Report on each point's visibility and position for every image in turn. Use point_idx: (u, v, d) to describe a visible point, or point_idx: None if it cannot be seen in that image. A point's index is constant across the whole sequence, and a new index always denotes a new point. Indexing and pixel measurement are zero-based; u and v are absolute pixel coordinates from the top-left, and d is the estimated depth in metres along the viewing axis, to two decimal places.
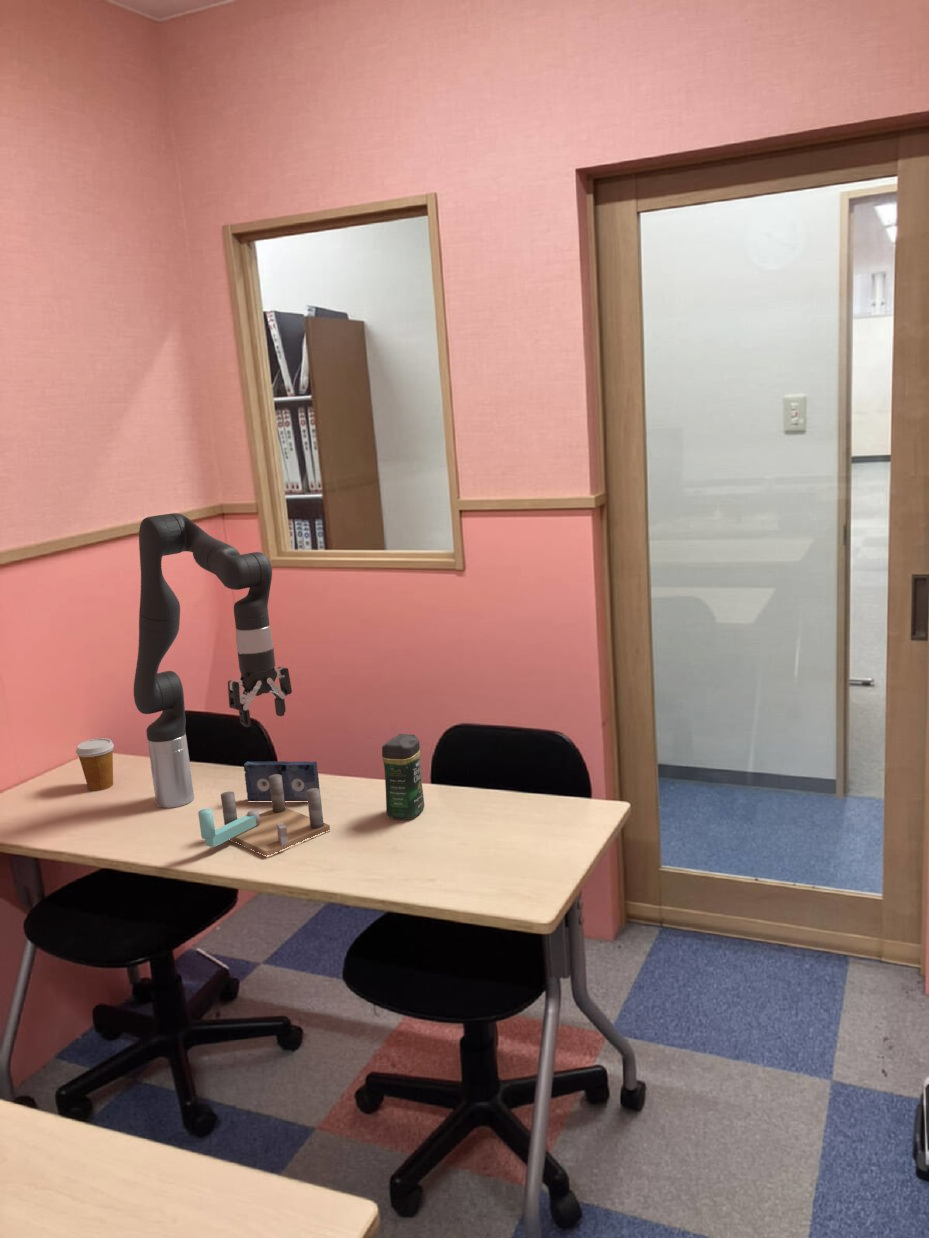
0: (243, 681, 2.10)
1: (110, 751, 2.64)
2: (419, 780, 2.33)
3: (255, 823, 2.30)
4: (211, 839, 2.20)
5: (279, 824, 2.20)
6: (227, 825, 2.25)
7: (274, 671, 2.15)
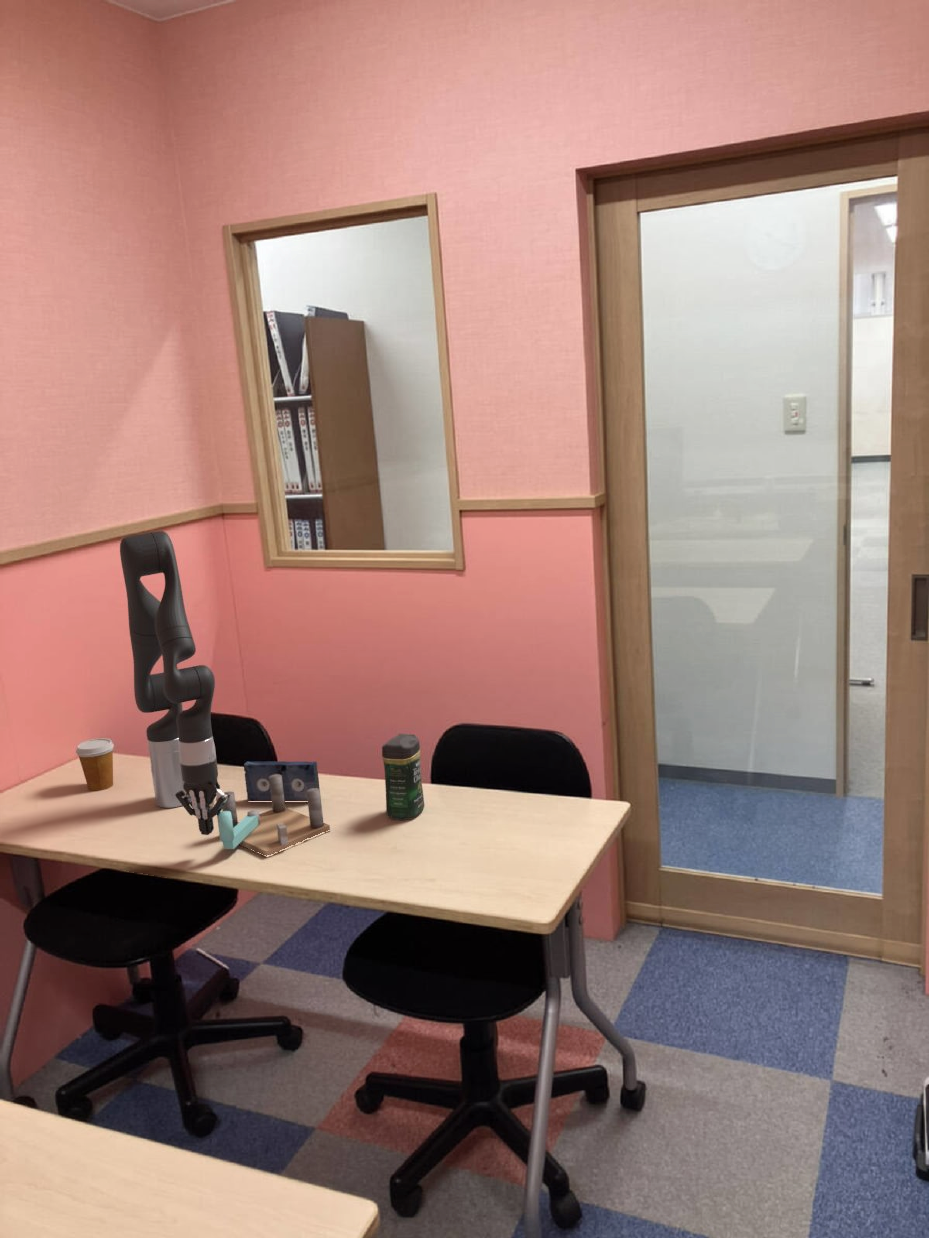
0: (219, 789, 2.16)
1: (110, 751, 2.64)
2: (419, 780, 2.33)
3: (257, 822, 2.30)
4: (231, 841, 2.18)
5: (279, 824, 2.20)
6: (237, 827, 2.24)
7: None
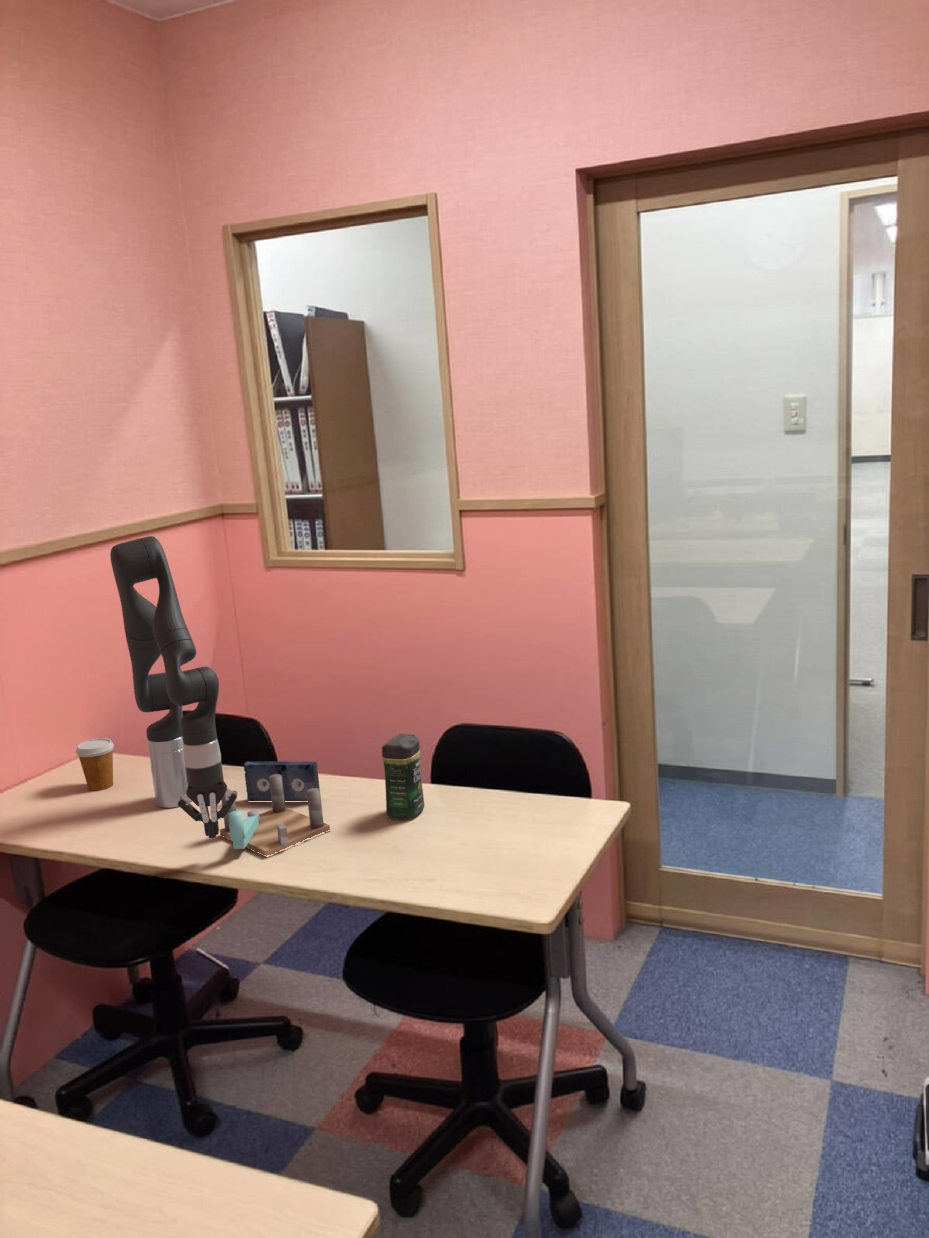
0: None
1: (110, 751, 2.64)
2: (419, 780, 2.33)
3: (258, 822, 2.30)
4: (242, 841, 2.18)
5: (279, 824, 2.20)
6: None
7: None
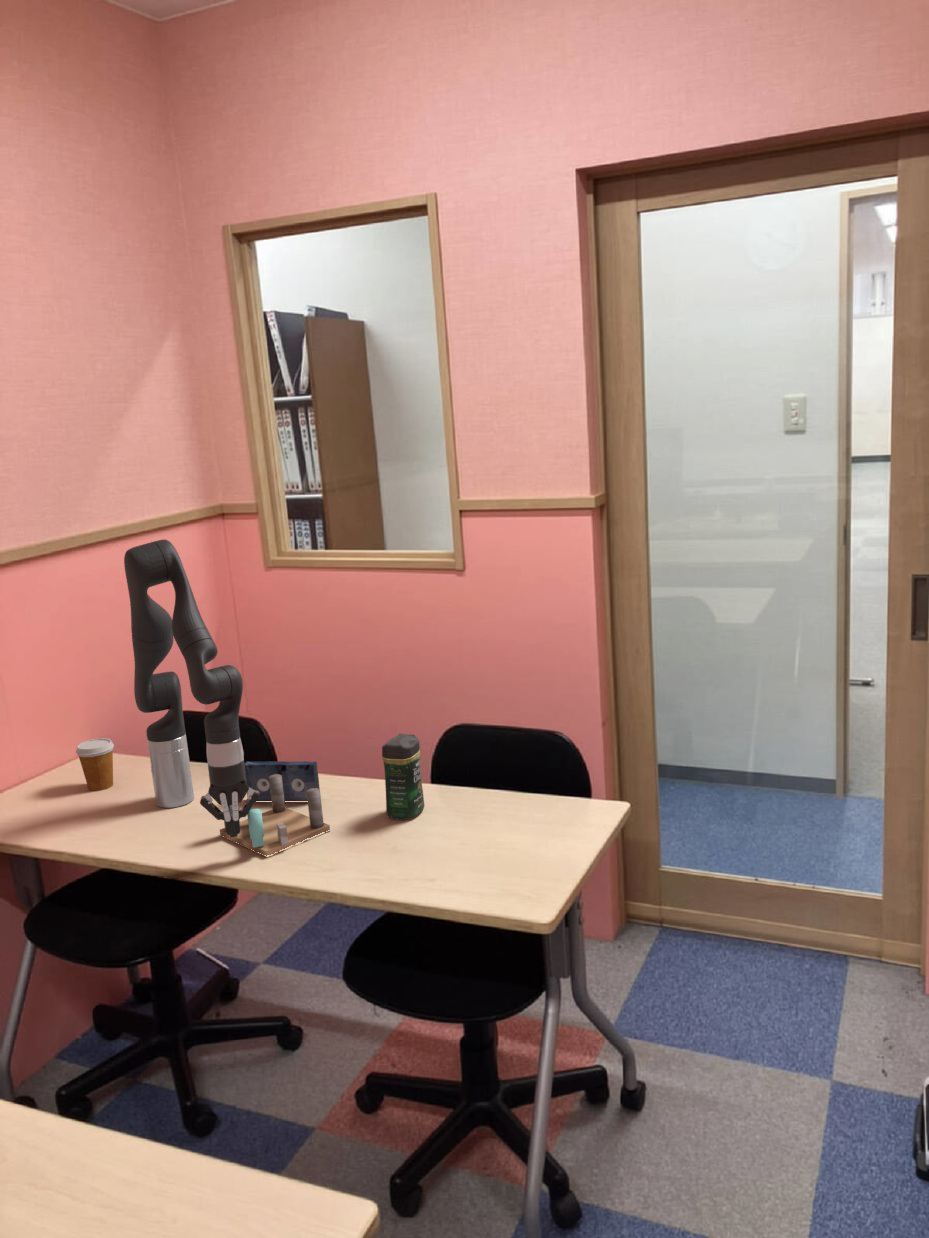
0: None
1: (110, 751, 2.64)
2: (419, 780, 2.33)
3: None
4: (262, 838, 2.18)
5: (279, 824, 2.20)
6: None
7: None
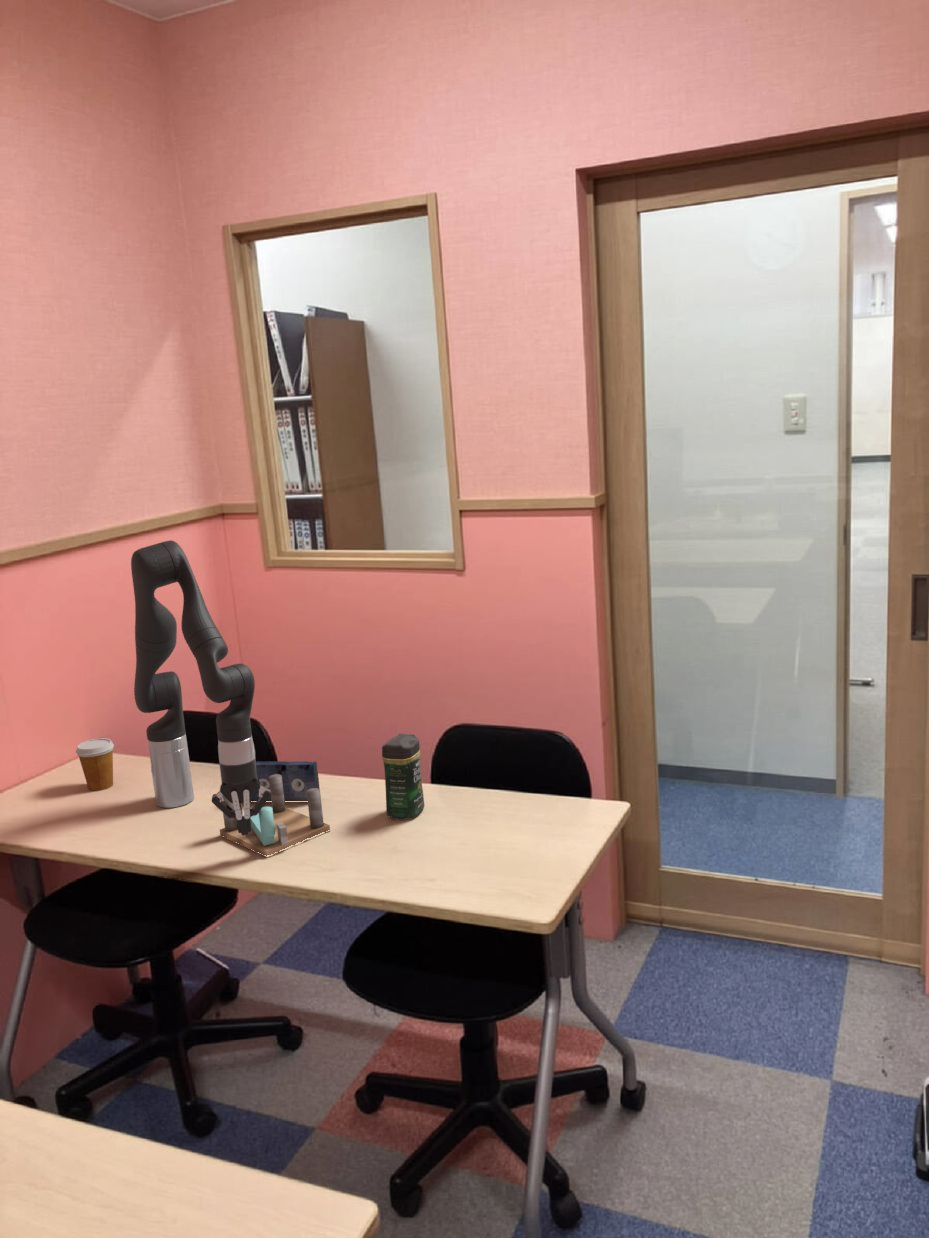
0: None
1: (110, 751, 2.64)
2: (419, 780, 2.33)
3: None
4: (272, 836, 2.19)
5: (279, 824, 2.20)
6: (259, 825, 2.24)
7: None
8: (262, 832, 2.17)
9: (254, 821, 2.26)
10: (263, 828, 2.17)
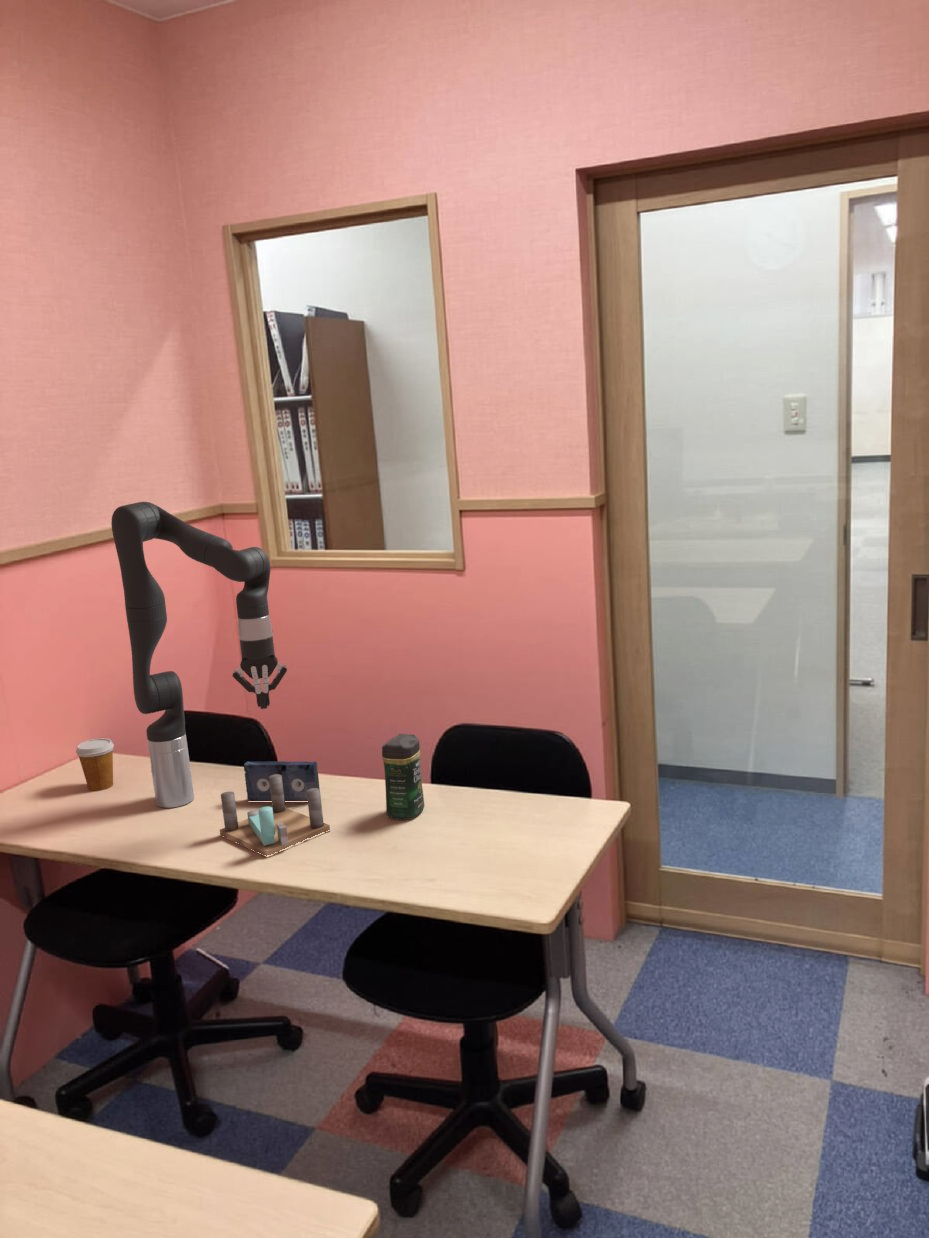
0: None
1: (110, 751, 2.64)
2: (419, 780, 2.33)
3: None
4: (272, 835, 2.19)
5: (279, 824, 2.20)
6: (259, 825, 2.24)
7: None
8: (262, 832, 2.17)
9: (254, 821, 2.26)
10: (263, 828, 2.17)
